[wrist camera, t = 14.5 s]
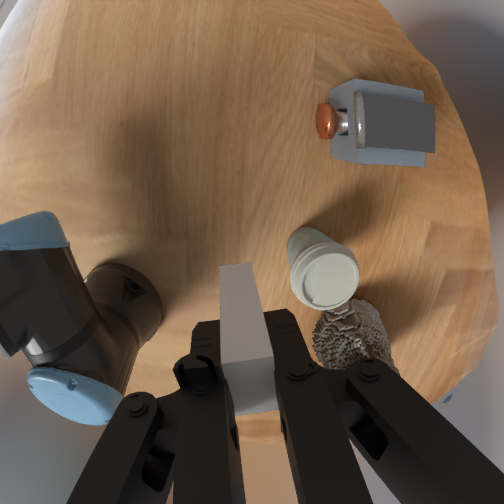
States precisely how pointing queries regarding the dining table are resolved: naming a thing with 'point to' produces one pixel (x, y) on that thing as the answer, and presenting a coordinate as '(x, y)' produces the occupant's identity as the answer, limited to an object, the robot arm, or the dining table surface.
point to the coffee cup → (321, 269)
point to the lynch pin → (330, 121)
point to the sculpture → (351, 336)
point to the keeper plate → (393, 123)
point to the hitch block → (346, 141)
